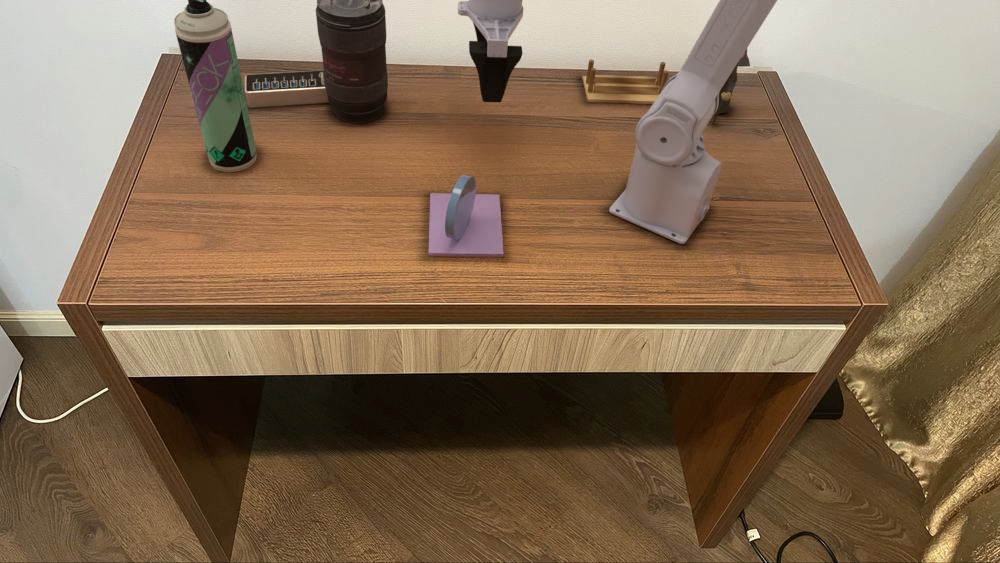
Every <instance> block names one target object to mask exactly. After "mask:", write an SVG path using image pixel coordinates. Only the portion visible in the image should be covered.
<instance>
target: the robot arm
mask: <svg viewBox="0 0 1000 563" xmlns="http://www.w3.org/2000/svg"><path fill="white" fill-rule="evenodd" d="M777 2H778V0H719V1H718V3H717V5H716V6H715V8H714V10H713V11H712V13H711V15H710V16H709V18H708V20H707V22H706V24H705V25H704V27H703V29H702V31H701V32H700V34H699V36H698V38H697V40H696V41H695V43H694V45H693V47H692V48H691V50H690V52H689V54H688V55H687V57H686V59H685V61H684V62H683V64H682V66H681V68H680V70H679V71H678V72H677V73H676V74H674V75H673V76H671V77H670V78H668V79H667V82H666V83H665V85H664V87H663V88H662V92H661V93H660V95H659V96H658V97H657V99H656V100H655V102H654V103H653V104H651V106H650V108H649V109H648V110H647V112H646V113H645V114H643V115H642V117H640V119H639V120H638V121H637V124H636V127H635V131H634V132H635V133H634V138H635V142H636V144H635V148H634V152H633V157H632V161H631V166H630V170H629V174H628V178H627V183H626V185H625V186H626V187H625V189H624V191H623V192H622V193H621V194H620V195H619V197H617V199H616V200H615V201H614V202H613V203H612V205H610V207H609V209H608V211H609V213H610V214H611V215H614V216H616V217H618V218H619V219H623V220H625V221H627V222H630V223H632V224H634V225H636V226H638V227H641V228H643V229H645V230H648V231H650V232H653V233H655V234H657V235H659V236H661V237H663V238H666V239H669V240H670V241H673V242H674V243H677V244H679V245H684V244H686V243H687V242H688V241H689V239H690V238H691V235H692V234H693V233H694V232H695V230H696V229H697V227H698V226H699V224H700V223H701V222H702V221H703V220H704V218H705V216H706V215H707V213H708V211H709V209H710V204H711V201H712V199H713V195H714V191H715V189H716V186H717V183H718V181H719V177H720V174H721V172H722V167H723V163H722V162H721V161H719V160H718V159H716V158H714V157H713V156H712V155H711V154H709V153H708V151H706V145H705V138H704V131H705V129H706V128H707V126H708V124H709V122H710V121H711V120H712V119H714V117H715V115H714V114H715V113H716V111H717V108H718V104H719V92H720V90H721V88H722V87H723V85H724V84H725V82H726V80H727V79H728V77H729V76H730V74H731V73H732V71H733V69H734V68H735V66H736V65H737V63H738V62H739V60H740V58H741V57H742V55H743V54H744V52H745V51H746V49H747V50H748V48H749V46H750V45H751V43H752V41H753V40H754V38H755V36H756V35H757V33H758V32H759V30H760V29H761V27H762V25H763V24H764V23H765V21H766V19H767V17H768V16H769V15H770V13H771V11H772V10H773V8H774V6H775V5H776V4H777ZM457 14H458V15H459V16H463V17H468V18H469V19H470V20H471V22H472V24H473V27H474V32H475V36H476V40H469V41H468V53H469V55H470V59H471V60H472V62H473V64H474V66H475V68H476V72H477V75H478V82H479V88H480V89H479V90H480V96H481V100H482V102H483V103H498V104H499V103H501V102H502V100H503V98H504V95H505V92H506V89H507V86H508V82H509V80H510V77H511V75H512V72H513V70H514V69H515V67H516V66H517V65H518V63H519V62H520V61H521V60H522V57H523V46H522V45H508V44H509V40H510V39H511V37H512V35H513V33H514V32H515V30H516V29H517V27H518V25H519V24H520V22H521V21H522V19H523V17H524V6H523V0H467V1H465V0H461V1H458V3H457Z"/></svg>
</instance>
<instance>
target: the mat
mask: <svg viewBox="0 0 1000 563" xmlns="http://www.w3.org/2000/svg"><path fill="white" fill-rule="evenodd" d="M451 193H452V192H451ZM451 193H448V192H446V193H444V192H442V193H441V192H430V194H429V220H428V221H429V224H428V226H429V227H428V257H457V258H458V257H463V258H465V257H466V258H467V257H468V258H469V257H470V258H504V256H505V254H504V240H503V226H502V212H501V196H500V194H496V193H495V194H492V193H476V195H475V201H474V206H473V210H472V214H471V217H470V220H469V223H468V226H467V228H466V230H465V232H464V234H463V235H462V237H461V238H460V239H459V240H454V239H450V238H448V237H447V236H446V234H445V218H446V212H447V207H448V203H449V199H450V196H451Z"/></svg>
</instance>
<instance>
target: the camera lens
mask: <svg viewBox="0 0 1000 563" xmlns="http://www.w3.org/2000/svg"><path fill="white" fill-rule="evenodd" d="M315 18H316V27H317V35H318V40H319V45H320V48H321V56H322V64H323V65H322V66H323V70H324V82H325V88H326V92H327V96H328V100H329V105H331V107H332V112H333V114H334V115H335V116H336V117H337V118H338V119H340V120H341V121H344V122H347V123H353V124H354V123H355V124H356V123H357V124H358V123H359V124H360V123H361V124H362V123H368V122H371V121H374V120H377V119H378V118H380V117H381V116H382V115H383V114H384V112H385V109H386V102H387V100H388V91H389V90H388V88H389V80H388V68H387V67H388V66H387V65H388V64H387V48H386V45H387V20H386V8H385V5H384V3H383V0H316V7H315Z"/></svg>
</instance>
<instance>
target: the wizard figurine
mask: <svg viewBox="0 0 1000 563" xmlns="http://www.w3.org/2000/svg"><path fill="white" fill-rule="evenodd" d="M750 62H751V61H750V58H749V55H748V48H747V49H746V51H745V52H744V54H743V55H742V57H741V58H740V60H739V62H738V63H737V65H736V66H735V68H734V69H733V71H732V73H731V74H730V76H729V77H728V79H727V80H726V82H725V84H724V85H723V87H722V88H721V90H720V92H719V104H718V108H717V111H716V113H715V114H714V117H713V121H712V123H711V124H712V125H714V124H715V122H716V120H717V117H718V115H721V114H726V113H728V111H729V107H730V103H731V99H732V95H733V91H734V89H735V87H736V83H737V82H738V68H739V67H751V63H750Z"/></svg>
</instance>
